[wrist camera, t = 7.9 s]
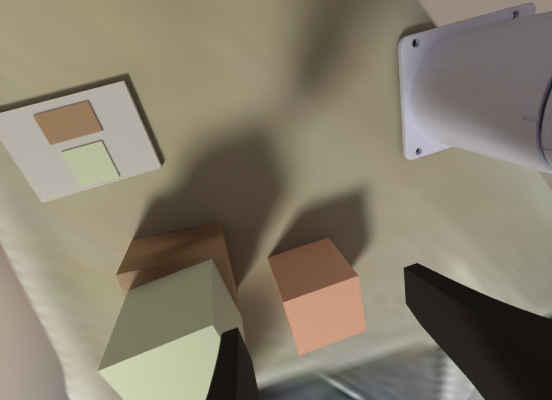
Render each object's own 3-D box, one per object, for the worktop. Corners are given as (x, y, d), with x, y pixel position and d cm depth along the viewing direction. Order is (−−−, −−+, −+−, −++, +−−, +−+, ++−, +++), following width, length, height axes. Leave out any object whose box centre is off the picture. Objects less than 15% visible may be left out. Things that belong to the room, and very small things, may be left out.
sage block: (211, 258, 17) (212, 324, 12) (241, 317, 19) (251, 392, 14) (128, 290, 16) (97, 371, 12) (168, 346, 19) (155, 433, 14)
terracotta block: (328, 236, 23) (358, 275, 18) (337, 284, 25) (366, 330, 20) (267, 257, 22) (283, 302, 18) (282, 304, 24) (299, 355, 20)
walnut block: (222, 220, 20) (224, 250, 17) (236, 287, 23) (242, 326, 19) (133, 238, 20) (115, 275, 16) (158, 305, 22) (148, 350, 18)
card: (125, 80, 16) (123, 80, 15) (162, 165, 18) (161, 168, 17) (-10, 115, 15) (-17, 117, 15) (45, 200, 17) (41, 203, 17)
